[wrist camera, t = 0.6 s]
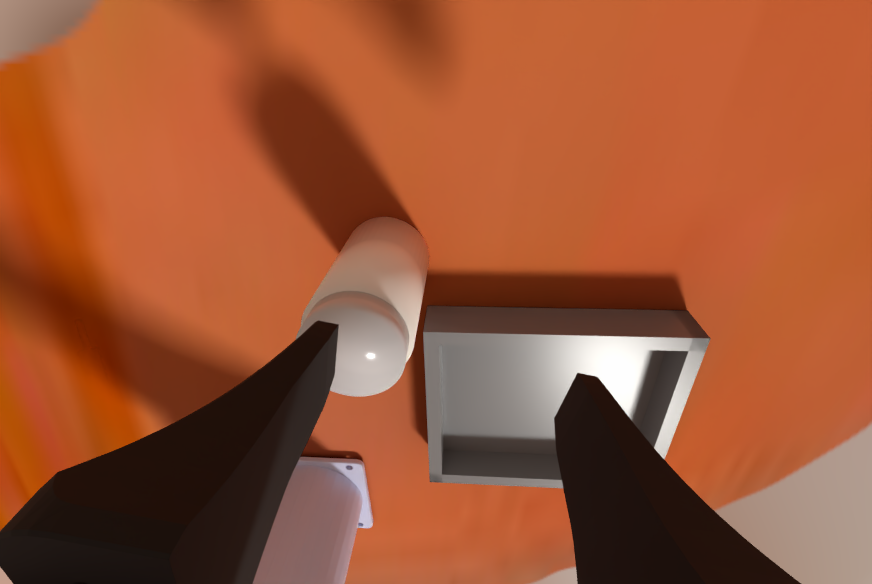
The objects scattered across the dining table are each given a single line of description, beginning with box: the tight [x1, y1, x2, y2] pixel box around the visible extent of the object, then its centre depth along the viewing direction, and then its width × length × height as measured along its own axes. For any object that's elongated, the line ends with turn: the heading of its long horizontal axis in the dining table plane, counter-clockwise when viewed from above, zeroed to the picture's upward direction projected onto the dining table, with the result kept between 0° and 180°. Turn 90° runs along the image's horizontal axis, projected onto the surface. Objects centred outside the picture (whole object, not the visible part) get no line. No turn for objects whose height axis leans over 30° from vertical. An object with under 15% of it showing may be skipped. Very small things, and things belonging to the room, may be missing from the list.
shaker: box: [296, 217, 429, 396], centre depth 19 cm, size 4×4×8 cm
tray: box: [423, 306, 710, 488], centre depth 25 cm, size 14×12×2 cm
